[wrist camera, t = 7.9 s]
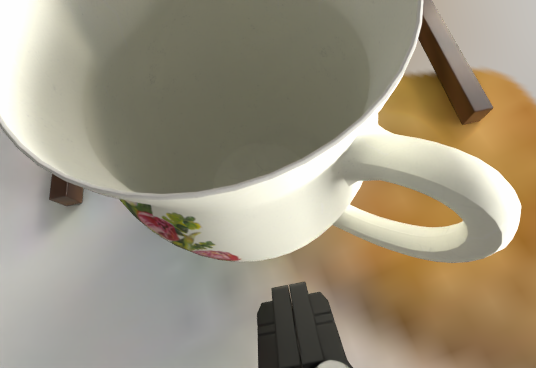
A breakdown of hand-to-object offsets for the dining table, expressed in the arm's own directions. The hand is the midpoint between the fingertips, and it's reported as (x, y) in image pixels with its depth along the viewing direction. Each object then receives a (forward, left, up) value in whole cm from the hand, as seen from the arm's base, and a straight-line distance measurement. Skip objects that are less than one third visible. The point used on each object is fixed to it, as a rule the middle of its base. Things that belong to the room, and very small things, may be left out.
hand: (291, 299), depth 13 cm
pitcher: (+2, +6, -4) cm, 8 cm away
